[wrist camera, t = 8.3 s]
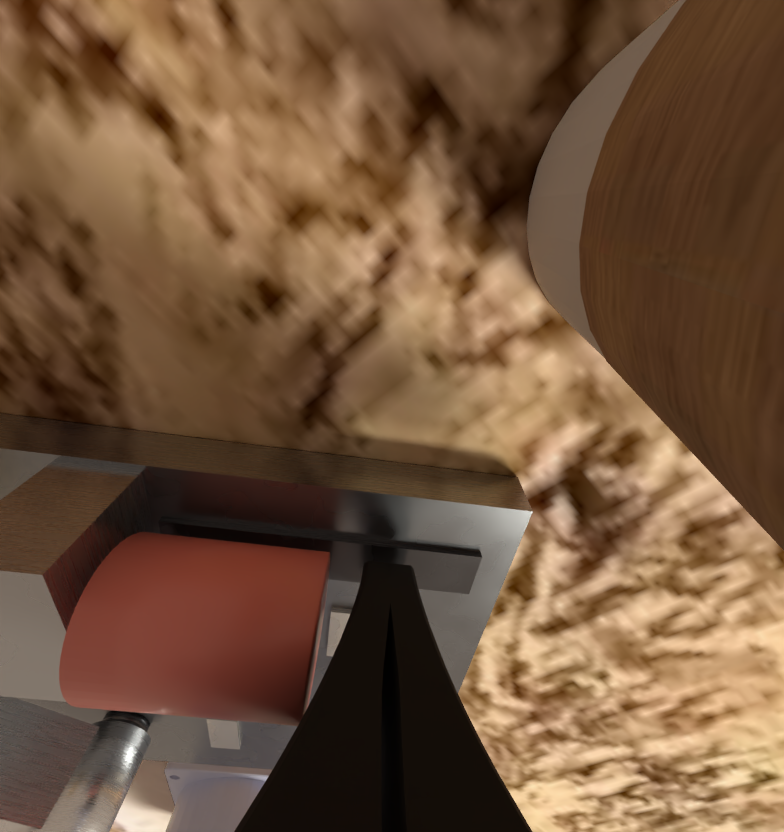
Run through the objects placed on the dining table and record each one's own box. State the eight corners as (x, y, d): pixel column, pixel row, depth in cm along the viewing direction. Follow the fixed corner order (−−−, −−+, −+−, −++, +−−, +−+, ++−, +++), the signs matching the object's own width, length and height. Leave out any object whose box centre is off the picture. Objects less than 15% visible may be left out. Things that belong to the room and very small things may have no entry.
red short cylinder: (325, 610, 12) (299, 758, 9) (170, 594, 12) (84, 741, 8) (334, 522, 10) (304, 666, 7) (152, 501, 10) (36, 641, 7)
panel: (420, 742, 20) (426, 884, 16) (-39, 704, 19) (-163, 847, 14) (517, 477, 12) (581, 623, 8) (-277, 379, 11) (-709, 490, 6)
